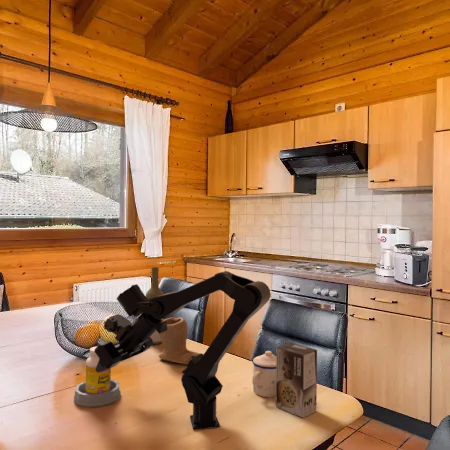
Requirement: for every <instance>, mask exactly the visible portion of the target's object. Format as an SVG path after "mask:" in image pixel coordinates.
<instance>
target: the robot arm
mask: <svg viewBox="0 0 450 450" xmlns="http://www.w3.org/2000/svg"><path fill="white" fill-rule="evenodd" d="M218 291H221V292H223V293H224V294H225V295H226V296H227V297H228V298H230V299H232V300H234V302H233V305H232V306H233V307H232V310H231V313H230V315H229V317H227V319H226V321H225V323H224V324H223V325H222V327H221V328H220V329H219V331H218V332H217V334H216V336H214V338H213V340H212V342H211V343H210V344H209V346H208V348H207V349H206V350H205V352H204V353H202V352H201V354H199V355H198V356H196V357H194V358H193V359H191V360H190V361H189V363H188V364H186V365H187V366H186V368H185V369H184V370H182V371H181V374H182V376H181V378H180V379H181V380H180V381H181V386H182V388H183V389H184V394H185V395H186V399H187V402H188V403H189V404H192V414H191V415H189V419H190V424H191V427H192V429H193V430H194V431H195V430H205V429H215V428H216V429H217V428H221V427H220V426H221V425H220V422H219V420H218V419H219V418H218V417H217V395H220V394H221V393H222V389H223V386H224V385H223V384H222V383H221V382H220V380H219V379H218V378H217V376H216V375H217V373H218V368H219V363H220V362H221V360H222V359H223V358H224V356H225V355H226V353H227V352H228V350H229V349H230V347H231V346H232V344H233V343H234V342H235V340H236V339H237V337H238V336H239V334H240V333H241V331H242V330H243V328H244V327H245V325H246V324H247V323H248V322H249V320H250V319H251V318H252V317H253V316H254V315H256V314H257V313H258V312H259V311H260V310H261V309H262V308H263V307H264V306H265V305H266V304H267V303H268V302H269V301H270V298H271V295H272V293H271V289H270V287H269V286H268V285H267V284H266V283H265V282H263V281H260V280H258V281H256V280H255V281H254V280H252V279H249V278H246V277H243V276H240V275H236V274H235V273H232V272H230V271H229V270H224V271H221V272H216V273H215V274H214V275H213V276H211V277H208V278H206V279H204V280H201V281H199V282H197V283H195V284H192V285H190V286H187V287H186V288H185V287H184V288H183V289H181V290H177V291H171V292H166V293H164V294H163V295H160V296H157V297H153V298H151V299H147V297H146V294H145V293H144V292H143V291H142V289H141V288H140V286H139V285H138V284H137V283H136V284H132V285H131V286H130V287H129V288H127V289H125V290H124V291H123V292H120V293H119V294H118V296H117V298H116V300H117V302H118V303H119V305H120V306H121V307H122V309H123V310H124V312H125V313H126V314H127V316H128V317H134V318H136V319H135V320H134V322H131V321H130V320H129V319H128V318H126V317H124V316H123V315H122V314H119V313H118V314H114V315H111V316H109V317H108V318H106V320H105V321H104V323H103V327H104V329H105V330H106V331H107V332H108V333H112V334H114V335H115V337H114V339H115V340H116V342H118V346H117V347H116V346H115V344H114V343H113V342H112V341H108V340H107V341H105V342H102V343H100V344H98V345H96V346H97V347H96V346H95V347H96V348H95V351H94V352H95V353H96V354H97V356H98V357H99V361H98V364H97V366H96V369H95V370H96V372H97V373H98V372H101V371H104V370H107V369H110V368H111V369H112V368H114V367H116V366H117V365H118V364H120V362H123V361H125V360H129V359H131V358H133V357H135V356H139V355H141V354H142V353H144V352H146V351H148V350H150V349H151V348H152V347H153V345H154V344H153V340H152V339H151V337H150V336H151V335H152V334H153V333H154V332H155V331H156V330H157V332H158V333H159V334H160V333H162V332H165V331H167V330H168V328H167V321H163V320H164V319H166V318H168V317H171V316H173V315H175V314H176V313H178V312H179V311H181V310H182V309H183V308H185V307H186V306H187V305H189V304H190V303H193V302H195V301H197V300H199V299H202V298H205V297H207V296H209V295H211V294H214V293H216V292H218ZM162 319H163V320H162ZM203 354H204V355H203Z"/></svg>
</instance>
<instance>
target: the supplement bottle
mask: <svg viewBox="0 0 450 450" xmlns="http://www.w3.org/2000/svg"><path fill="white" fill-rule="evenodd" d="M97 346H98V345H96V346H93V347H90V348H89V357H87V359H86V361H85V381H86V388H85V393H86V394H102V393H105V392H109V391H110V380H111V379H112V378H111V376H112V375H111V372H112V371H111V370H112V368H110V369H107V370H104V371H101V372H98V373H97V372H96V370H95V369H96V366H97V364H98V361H99V357H98V356H97V354H96V353H95V352H94V351H95V348H96V347H97Z"/></svg>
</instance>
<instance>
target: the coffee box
mask: <svg viewBox="0 0 450 450" xmlns="http://www.w3.org/2000/svg"><path fill="white" fill-rule="evenodd" d="M275 349H276V350H275V351H276V352H275V353H276V354H275V356H276V398H275V402H276V403H275V406H276V408H279V409H281V410H283V411H284V412H288V413H291V414H293V415H295V416H298V417H300V418H306V417H307V416H309V415H312V414H313V413H316V412H317V399H318V398H317V393H318V392H317V382H318V378H317V377H318V372H317V371H318V369H317V368H318V349H315V348H312V347H307V346H303V345H300V344H296V343H292V342H289V343H285V344H283V345H280V346H278V347H275Z"/></svg>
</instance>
